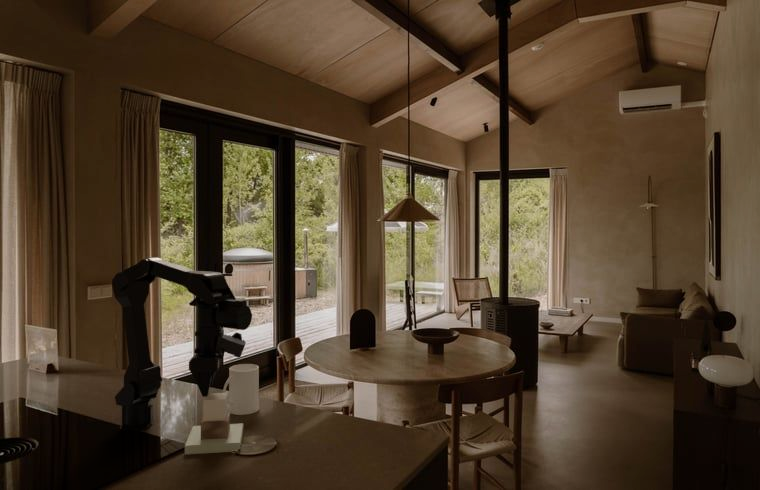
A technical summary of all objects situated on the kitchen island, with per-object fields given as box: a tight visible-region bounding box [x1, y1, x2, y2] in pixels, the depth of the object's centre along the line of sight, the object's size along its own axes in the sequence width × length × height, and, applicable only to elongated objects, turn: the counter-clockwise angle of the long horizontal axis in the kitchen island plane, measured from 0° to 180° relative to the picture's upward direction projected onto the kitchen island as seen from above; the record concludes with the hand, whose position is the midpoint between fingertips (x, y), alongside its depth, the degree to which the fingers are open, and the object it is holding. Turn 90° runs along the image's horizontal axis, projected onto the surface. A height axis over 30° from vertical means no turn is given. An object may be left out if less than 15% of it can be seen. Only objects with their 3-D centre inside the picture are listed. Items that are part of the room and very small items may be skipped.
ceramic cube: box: [202, 392, 228, 422], centre depth 125 cm, size 5×5×5 cm
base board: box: [184, 422, 244, 455], centre depth 125 cm, size 12×12×2 cm
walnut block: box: [200, 411, 231, 440], centre depth 125 cm, size 6×6×4 cm
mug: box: [222, 363, 260, 416], centre depth 147 cm, size 12×8×12 cm
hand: (207, 390), depth 126 cm, fingers open, 9 cm apart
